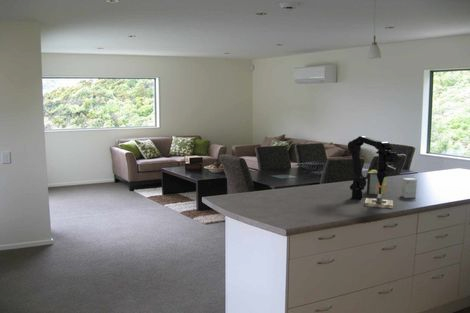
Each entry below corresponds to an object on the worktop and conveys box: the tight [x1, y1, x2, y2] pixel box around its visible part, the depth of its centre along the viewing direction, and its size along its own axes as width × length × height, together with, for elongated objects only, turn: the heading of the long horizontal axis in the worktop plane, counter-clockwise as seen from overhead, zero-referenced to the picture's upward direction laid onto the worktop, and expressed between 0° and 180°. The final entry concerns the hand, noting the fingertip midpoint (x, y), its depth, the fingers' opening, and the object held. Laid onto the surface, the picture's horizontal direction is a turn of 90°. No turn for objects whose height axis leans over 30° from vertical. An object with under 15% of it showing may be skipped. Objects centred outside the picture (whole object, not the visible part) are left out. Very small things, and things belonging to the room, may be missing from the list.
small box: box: [400, 177, 418, 199], centre depth 345 cm, size 8×6×13 cm
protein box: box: [366, 169, 387, 196], centre depth 357 cm, size 10×15×16 cm
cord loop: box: [375, 183, 387, 195], centre depth 319 cm, size 6×3×10 cm, turn 73°
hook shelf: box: [364, 194, 394, 209], centre depth 320 cm, size 17×15×6 cm
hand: (380, 185), depth 319 cm, fingers closed on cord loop, 3 cm apart
